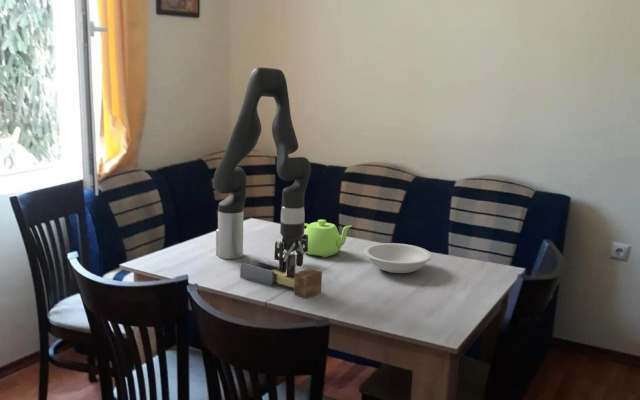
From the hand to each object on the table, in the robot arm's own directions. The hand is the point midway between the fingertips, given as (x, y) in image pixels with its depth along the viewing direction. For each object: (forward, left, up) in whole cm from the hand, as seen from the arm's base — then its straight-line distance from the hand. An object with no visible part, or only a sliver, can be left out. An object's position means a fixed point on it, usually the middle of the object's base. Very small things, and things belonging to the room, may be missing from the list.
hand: (291, 269), depth 205 cm
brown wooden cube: (+7, 0, -7) cm, 10 cm away
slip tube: (0, 0, -5) cm, 5 cm away
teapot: (-14, +38, -7) cm, 41 cm away
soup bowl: (+17, +40, -7) cm, 44 cm away
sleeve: (-12, 0, -7) cm, 14 cm away
